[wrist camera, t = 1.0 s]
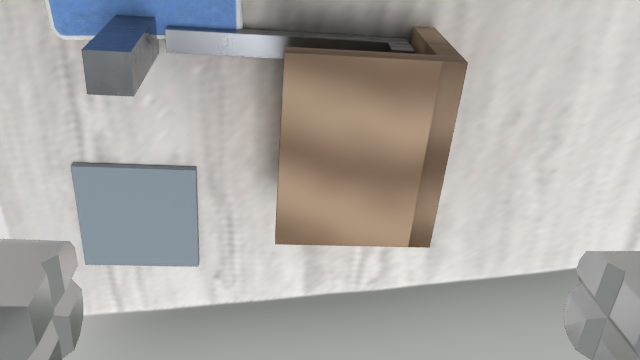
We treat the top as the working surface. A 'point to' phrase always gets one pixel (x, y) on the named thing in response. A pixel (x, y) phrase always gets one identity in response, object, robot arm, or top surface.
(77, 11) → the blue flat slab
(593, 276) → the robot arm
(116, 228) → the slate mat
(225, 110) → the top surface
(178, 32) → the grey u-shaped bracket
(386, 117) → the walnut shelf
